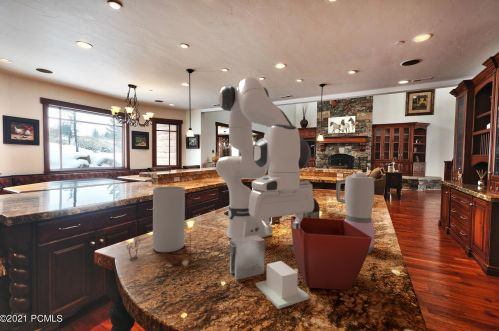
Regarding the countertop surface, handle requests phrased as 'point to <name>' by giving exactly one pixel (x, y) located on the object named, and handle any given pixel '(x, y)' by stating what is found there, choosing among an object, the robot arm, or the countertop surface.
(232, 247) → the bar
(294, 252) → the tactical tomahawk
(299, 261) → the plant pot
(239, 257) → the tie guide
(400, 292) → the countertop surface
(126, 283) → the countertop surface
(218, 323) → the countertop surface
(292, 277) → the off-white cardboard box
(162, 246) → the cylinder vase
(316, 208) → the olive oil
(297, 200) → the robot arm
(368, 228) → the blender
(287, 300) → the sage mat
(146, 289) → the countertop surface
